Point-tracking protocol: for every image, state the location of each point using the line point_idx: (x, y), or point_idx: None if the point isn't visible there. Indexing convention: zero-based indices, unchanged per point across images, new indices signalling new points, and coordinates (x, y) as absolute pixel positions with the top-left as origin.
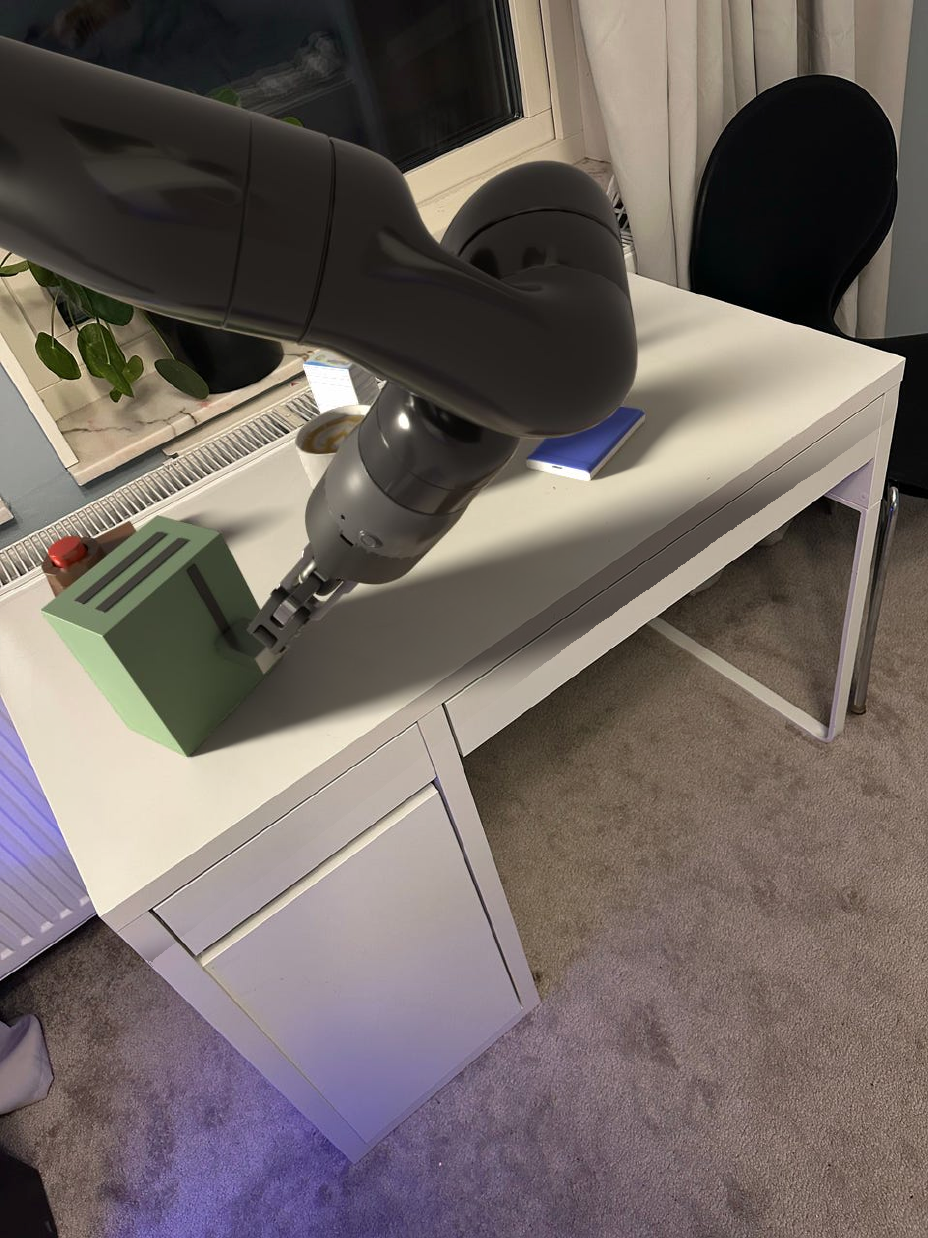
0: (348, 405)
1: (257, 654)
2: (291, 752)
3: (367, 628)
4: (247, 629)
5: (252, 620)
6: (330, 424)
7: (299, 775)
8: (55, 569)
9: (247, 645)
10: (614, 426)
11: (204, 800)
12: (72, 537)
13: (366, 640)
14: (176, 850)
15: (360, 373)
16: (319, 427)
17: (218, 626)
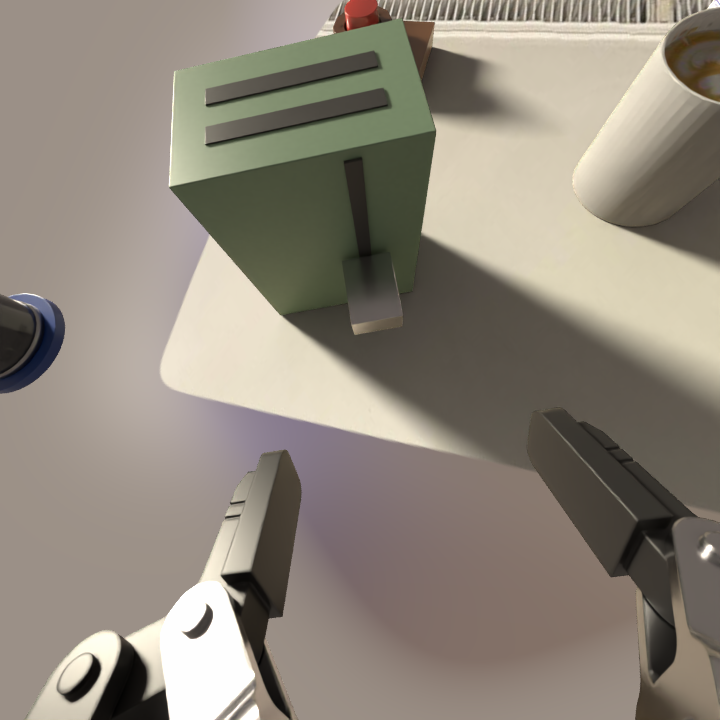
0: None
1: (357, 321)
2: (335, 394)
3: (493, 334)
4: (45, 686)
5: (65, 691)
6: None
7: (320, 423)
8: (341, 31)
9: (360, 298)
10: None
11: (257, 366)
12: (373, 1)
13: (480, 347)
14: (212, 388)
15: None
16: (714, 31)
17: (357, 246)
